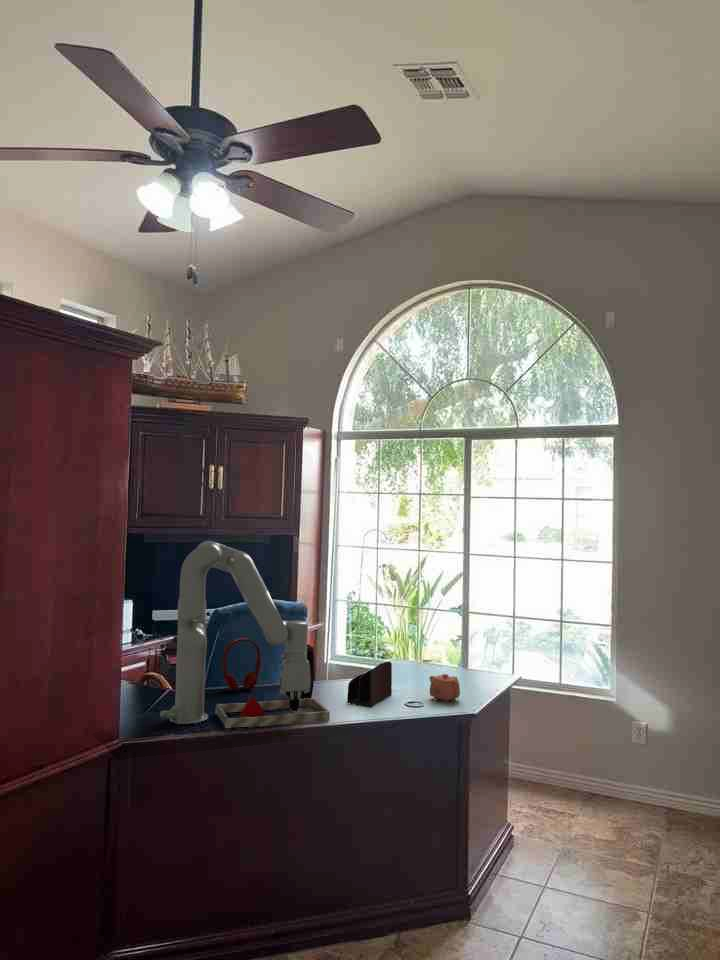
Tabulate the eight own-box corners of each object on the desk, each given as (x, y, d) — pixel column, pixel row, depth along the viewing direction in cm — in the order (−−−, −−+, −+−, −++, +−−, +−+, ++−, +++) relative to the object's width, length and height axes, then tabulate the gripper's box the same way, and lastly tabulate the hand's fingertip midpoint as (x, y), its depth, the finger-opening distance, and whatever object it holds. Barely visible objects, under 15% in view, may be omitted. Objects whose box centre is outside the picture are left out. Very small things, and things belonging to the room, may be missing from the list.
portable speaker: (287, 700, 277) (288, 647, 278) (294, 693, 286) (296, 642, 287) (309, 702, 275) (310, 649, 276) (316, 695, 284) (317, 644, 285)
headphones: (224, 694, 283) (226, 641, 283) (219, 689, 289) (221, 638, 289) (261, 690, 289) (263, 639, 290) (255, 686, 296) (257, 635, 296)
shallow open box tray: (225, 729, 241) (226, 718, 241) (215, 713, 257) (215, 703, 257) (329, 720, 254) (329, 709, 254) (313, 706, 270) (313, 696, 270)
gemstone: (242, 724, 242) (267, 707, 248) (227, 707, 247) (251, 690, 253) (244, 740, 247) (268, 723, 253) (228, 723, 252) (252, 707, 258)
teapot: (430, 703, 279) (430, 677, 279) (428, 695, 291) (429, 670, 291) (461, 705, 278) (461, 679, 278) (458, 696, 290) (459, 671, 290)
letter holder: (391, 695, 289) (392, 659, 289) (371, 708, 271) (372, 669, 271) (368, 692, 293) (369, 656, 293) (346, 704, 275) (347, 665, 275)
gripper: (277, 660, 252) (275, 714, 252) (319, 658, 258) (317, 711, 257) (272, 655, 259) (270, 708, 259) (313, 653, 264) (311, 705, 264)
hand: (294, 709), depth 258 cm, fingers closed
